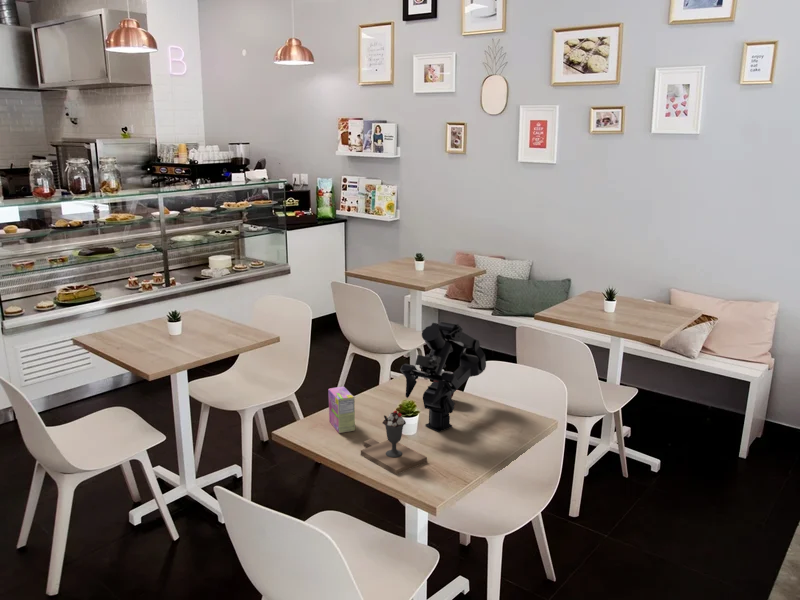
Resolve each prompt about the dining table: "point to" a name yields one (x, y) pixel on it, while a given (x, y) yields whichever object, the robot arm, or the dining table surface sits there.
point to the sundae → (394, 431)
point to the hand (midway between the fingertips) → (419, 400)
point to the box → (341, 409)
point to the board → (394, 465)
